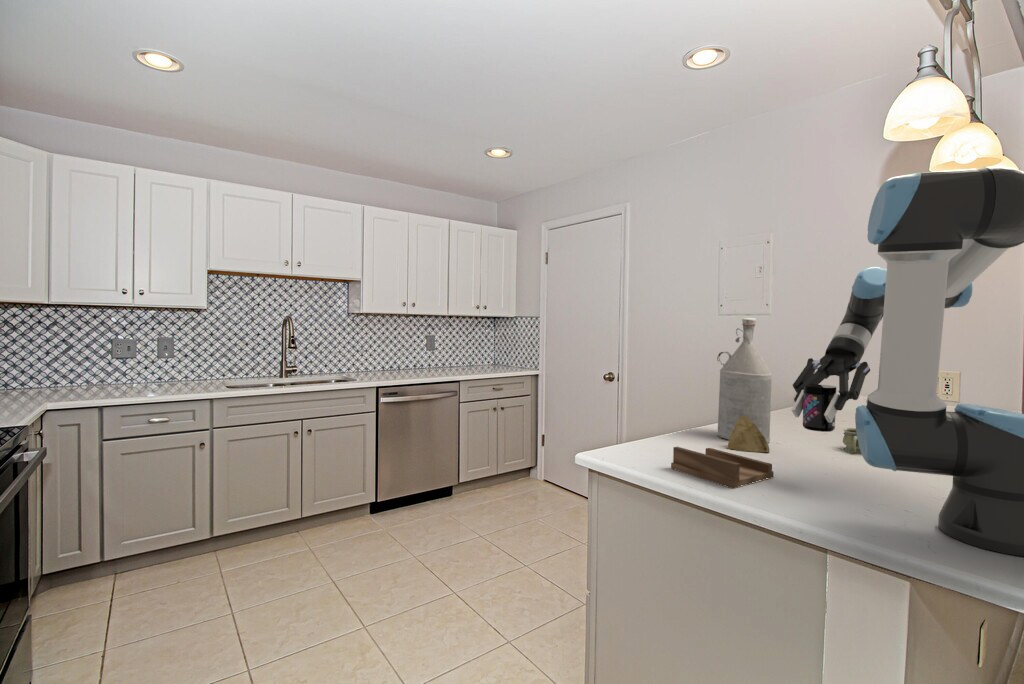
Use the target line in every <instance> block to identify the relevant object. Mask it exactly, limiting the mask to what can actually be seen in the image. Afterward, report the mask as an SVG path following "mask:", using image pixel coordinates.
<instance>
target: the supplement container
mask: <svg viewBox="0 0 1024 684" xmlns="http://www.w3.org/2000/svg"><path fill="white" fill-rule="evenodd" d="M837 389H838V387H837V386H835V385H829V384H805V385H804V391H803V392H804V395H803V410H802V426H803V427H802V428H803V429H806V430H808V431H813V432H814V431H815V432H819V433H820V432H821V433H822V432H823V433H828V432H833V431H834V430H836V416H835V417H834V419H833V421H832V423H829V422H828V421H827V420H826V418H825V416H824V414H825V412H826V410H827V408H828V406H829V404H830V402H831V400H832V398H833V396H834V394H837Z"/></svg>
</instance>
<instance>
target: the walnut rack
mask: <svg viewBox="0 0 1024 684" xmlns="http://www.w3.org/2000/svg"><path fill="white" fill-rule="evenodd" d="M672 448H673V449H672V450H673V451H672V452H673V453H672V454H673V456H672V458H673V459H672V462H670V464H671V465H670V468H672V470H674V469H676V470H675V471H677V470H679V471H678V472H680V471H682V472H681V473H683V472H685V473H684V474H686V473H688V474H687V475H690V474H691V475H690V476H693V475H694V476H693V477H696V476H697V477H696V478H699V477H700V478H699V479H702V478H703V479H702V480H705V479H706V481H708V480H709V481H708V482H711V481H713V482H712V483H714V482H716V483H715V484H717V483H719V484H718V485H720V484H722V485H721V486H723V485H726V486H725V487H727V486H728V487H727V488H730V487H732V488H731V489H733V488H734V489H736V488H735V487H737V488H739V487H738V486H741V485H745V484H748V485H750V484H749V483H752V482H755V483H757V482H756V481H759V480H762V481H764V480H763V479H766V478H770V479H772V478H771V477H773V478H774V473H775V472H774V471H772V470H773V464H772V463H770V462H766V461H762V460H758V459H754V458H750V457H747V456H743V455H739V454H736V453H731V452H727V451H723V450H720V449H716V448H712V447H706V448H705V453H702V452H698V451H695V450H691V449H689V448H688V449H687V448H685V447H680V446H674V447H672ZM766 480H767V479H766ZM759 482H760V481H759ZM752 484H753V483H752ZM745 486H746V485H745ZM741 487H742V486H741Z"/></svg>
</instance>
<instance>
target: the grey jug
mask: <svg viewBox="0 0 1024 684" xmlns="http://www.w3.org/2000/svg"><path fill="white" fill-rule="evenodd" d="M741 321H742V323H741V325H742V328H741V329H740V328H738V327H737V328H736V330H735V334H736V336H737V337H736V339H735V343H737V344H739V343H740V339H741V338H742V342H741V343H740V344H739V346H738V347H737V348H736V350H735V351H734V352H733V354H731V353H730V352H728V351H720V352H719V353H718V355H717V357H716V360H717V362H719V364H720V365H722V367H721V369H719V393H718V415H717V420H718V421H717V432H716V433H717V435H718V437H720V438H723V439H726V440H728V441H729V440H730V436H731V434H732V432H733V430H734V428H735V425H736V424H737V421H738V420H739V418H740V416H743V417H744V416H745V417H747V418H749V419H750V420H751V421H752V422H753V423H754V424H755V425H756V426H757V428H758V429H759V431H760V432H761V433H762V434H763V436H764V437H765V439H766V441H767V443H768V444H769V443H770V440H771V439H770V438H771V437H770V435H771V433H770V432H771V411H772V410H771V406H772V404H771V403H772V378H773V373H771V371H770V369H769V368H768V367H769V366H768V365H767V364H766V362H765V361H764V359H763V358H762V356H761V354H760V353H759V350H758V349H757V348H756V345H754V343H753V341H754V340H753V339H754V330H755V326H756V323H757V322H756V321H757V319H756V318H755V317H743V318H742V319H741ZM738 330H740V331H741V332H742V336H739V335H738ZM722 354H727V355H728V359H727V360H726V362H725V363H723V362H722V361H721V358H719V357H721V355H722Z"/></svg>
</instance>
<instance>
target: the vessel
mask: <svg viewBox="0 0 1024 684" xmlns="http://www.w3.org/2000/svg"><path fill="white" fill-rule="evenodd" d="M843 431H844V432H843V438H842V443H843V445H845V448H844V451H845V452H848V453H850V454H856V455H861V456H862V453H861V451H860V447H859V443H858V438H857V432H856V427H847V428H846V427H845V428H843Z"/></svg>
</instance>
